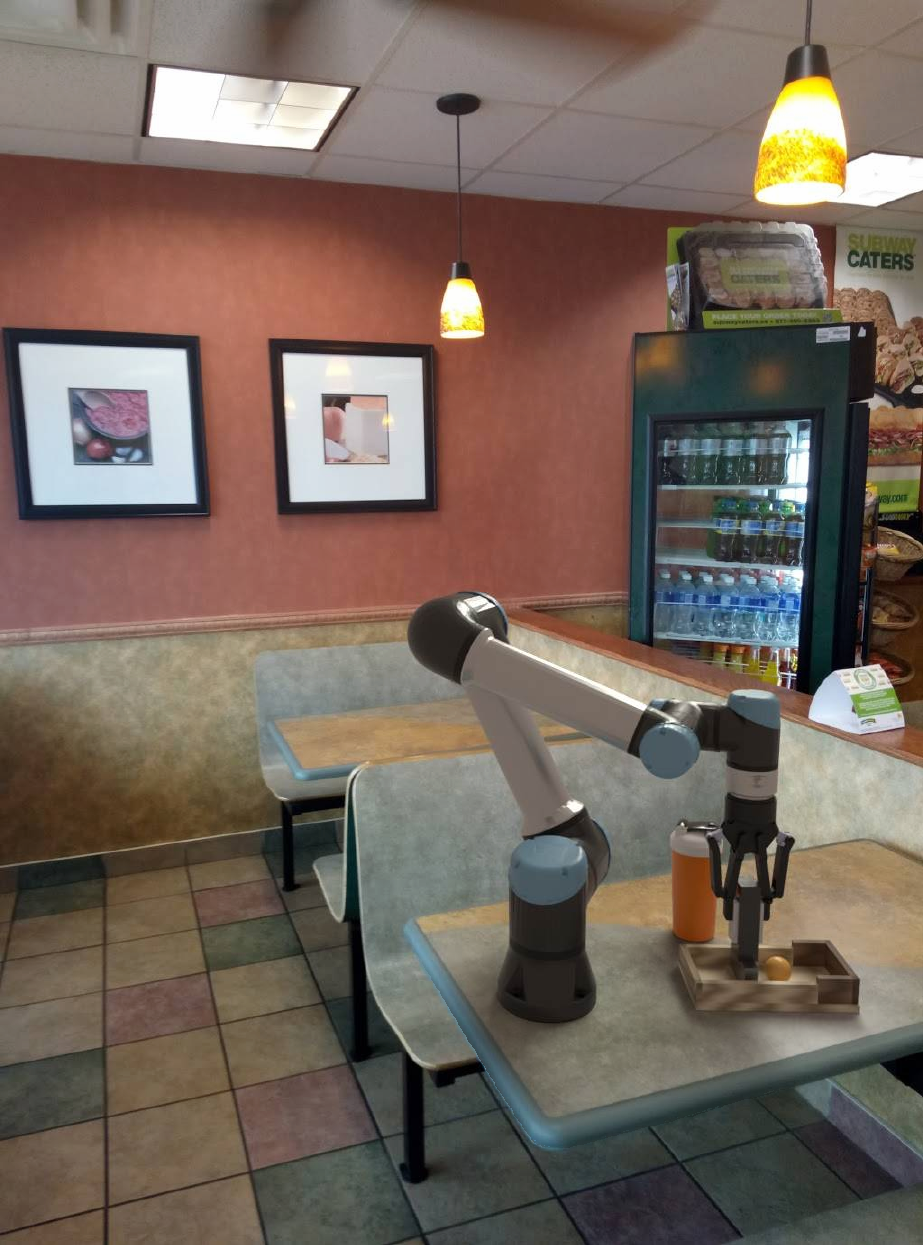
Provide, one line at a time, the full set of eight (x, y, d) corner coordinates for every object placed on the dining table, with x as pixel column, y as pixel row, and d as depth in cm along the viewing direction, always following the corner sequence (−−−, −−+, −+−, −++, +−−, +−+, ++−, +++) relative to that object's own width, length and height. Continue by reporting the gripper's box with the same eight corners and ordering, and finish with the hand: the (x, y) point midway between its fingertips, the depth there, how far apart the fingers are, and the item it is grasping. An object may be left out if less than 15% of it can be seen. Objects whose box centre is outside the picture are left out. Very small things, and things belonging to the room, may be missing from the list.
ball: (793, 962, 137) (797, 986, 138) (784, 949, 141) (788, 973, 141) (767, 967, 137) (770, 991, 138) (759, 953, 141) (763, 977, 142)
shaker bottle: (721, 947, 153) (725, 834, 150) (667, 942, 154) (671, 830, 152) (717, 923, 161) (721, 816, 159) (666, 919, 163) (669, 813, 160)
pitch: (696, 1010, 134) (697, 978, 133) (678, 965, 147) (679, 936, 146) (859, 1012, 133) (861, 981, 132) (826, 967, 146) (828, 938, 145)
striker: (740, 993, 136) (744, 892, 134) (727, 966, 144) (730, 870, 142) (760, 993, 136) (765, 892, 134) (746, 966, 144) (749, 870, 142)
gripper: (703, 800, 132) (698, 950, 135) (813, 801, 132) (806, 952, 135) (691, 784, 140) (687, 927, 143) (796, 785, 139) (789, 928, 142)
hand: (745, 938), depth 139 cm, fingers closed on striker, 3 cm apart
